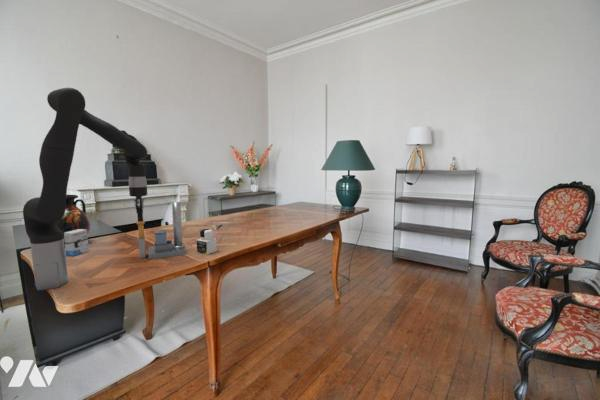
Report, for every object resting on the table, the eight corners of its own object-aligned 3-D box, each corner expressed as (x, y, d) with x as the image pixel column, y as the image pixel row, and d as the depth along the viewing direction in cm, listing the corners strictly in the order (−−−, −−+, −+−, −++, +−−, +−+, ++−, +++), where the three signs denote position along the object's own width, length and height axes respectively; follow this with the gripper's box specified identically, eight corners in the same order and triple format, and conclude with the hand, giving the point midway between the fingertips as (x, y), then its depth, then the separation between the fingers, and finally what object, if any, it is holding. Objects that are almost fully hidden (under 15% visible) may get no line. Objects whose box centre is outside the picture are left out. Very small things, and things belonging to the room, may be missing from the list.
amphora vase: (49, 253, 141) (42, 199, 137) (37, 246, 153) (31, 196, 149) (98, 244, 158) (93, 195, 155) (84, 238, 170) (79, 193, 167)
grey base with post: (186, 254, 141) (184, 203, 138) (139, 260, 132) (135, 206, 128) (183, 247, 154) (181, 200, 150) (140, 252, 144) (137, 202, 140)
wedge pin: (146, 243, 137) (144, 221, 135) (137, 244, 135) (136, 222, 134) (146, 242, 140) (144, 220, 138) (138, 242, 138) (136, 220, 137)
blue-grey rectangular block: (167, 249, 141) (166, 232, 140) (156, 250, 138) (154, 233, 137) (166, 246, 145) (165, 230, 144) (155, 248, 143) (154, 231, 142)
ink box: (73, 256, 137) (71, 233, 136) (65, 255, 138) (63, 232, 137) (89, 251, 146) (87, 229, 144) (82, 250, 147) (79, 228, 145)
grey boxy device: (196, 253, 144) (195, 230, 142) (207, 249, 150) (206, 227, 148) (206, 255, 140) (205, 232, 139) (217, 251, 147) (216, 229, 145)
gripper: (146, 186, 130) (149, 222, 132) (147, 184, 141) (149, 218, 143) (127, 187, 126) (130, 224, 128) (129, 185, 138) (132, 219, 140)
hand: (140, 221), depth 136 cm, fingers closed
